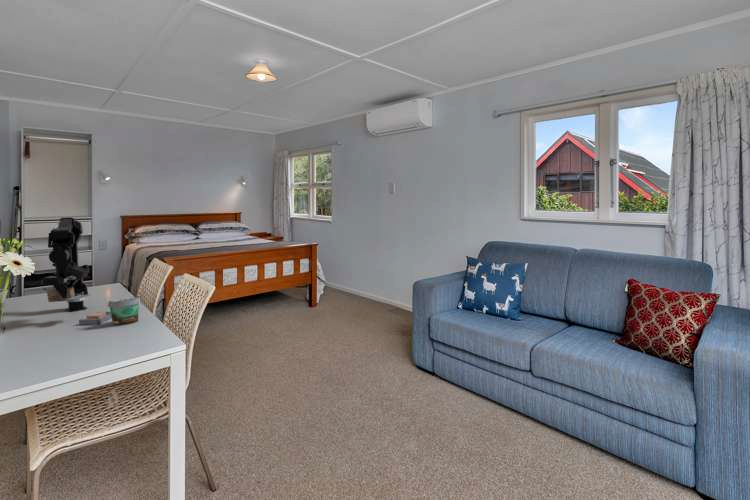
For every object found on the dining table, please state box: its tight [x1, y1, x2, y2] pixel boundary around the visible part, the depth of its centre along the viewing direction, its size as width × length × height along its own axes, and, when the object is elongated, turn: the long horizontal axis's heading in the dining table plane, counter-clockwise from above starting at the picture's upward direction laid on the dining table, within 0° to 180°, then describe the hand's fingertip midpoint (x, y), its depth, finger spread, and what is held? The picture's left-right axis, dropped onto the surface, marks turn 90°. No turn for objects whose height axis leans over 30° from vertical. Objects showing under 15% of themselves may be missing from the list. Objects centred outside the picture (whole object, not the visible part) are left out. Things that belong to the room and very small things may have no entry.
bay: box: [78, 311, 112, 326], centre depth 174 cm, size 8×12×2 cm, turn 4°
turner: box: [46, 287, 93, 303], centre depth 172 cm, size 14×8×5 cm, turn 94°
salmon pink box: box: [85, 311, 107, 319], centre depth 173 cm, size 5×5×3 cm
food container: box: [107, 295, 141, 326], centre depth 170 cm, size 12×6×10 cm, turn 148°
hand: (66, 297), depth 172 cm, fingers closed on turner, 2 cm apart
